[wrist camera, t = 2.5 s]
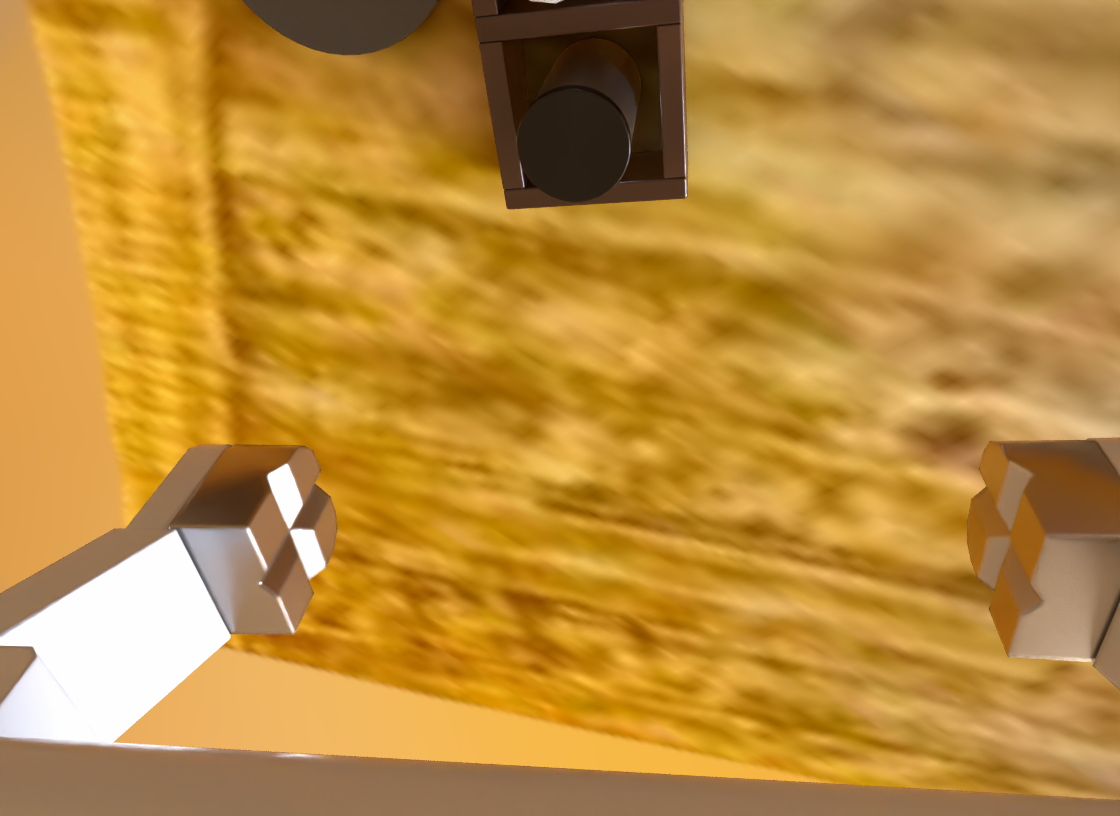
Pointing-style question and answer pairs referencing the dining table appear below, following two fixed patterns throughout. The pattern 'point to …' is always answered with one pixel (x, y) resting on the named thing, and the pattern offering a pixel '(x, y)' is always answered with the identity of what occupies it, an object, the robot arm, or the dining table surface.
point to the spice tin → (581, 122)
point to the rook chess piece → (547, 1)
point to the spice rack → (500, 28)
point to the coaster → (344, 22)
